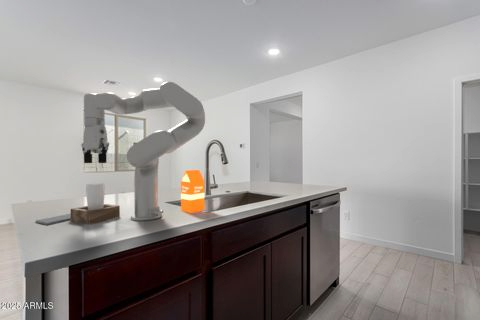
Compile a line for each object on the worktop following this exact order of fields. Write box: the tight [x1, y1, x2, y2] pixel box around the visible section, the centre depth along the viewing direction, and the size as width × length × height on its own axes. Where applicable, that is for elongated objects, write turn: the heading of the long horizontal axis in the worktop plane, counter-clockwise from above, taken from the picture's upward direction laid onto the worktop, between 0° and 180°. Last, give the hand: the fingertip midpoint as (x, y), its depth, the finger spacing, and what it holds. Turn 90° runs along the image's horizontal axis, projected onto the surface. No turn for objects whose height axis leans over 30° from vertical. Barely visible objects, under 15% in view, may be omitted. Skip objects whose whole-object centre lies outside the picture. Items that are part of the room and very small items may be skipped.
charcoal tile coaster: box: [35, 213, 71, 226], centre depth 99 cm, size 9×14×1 cm, turn 154°
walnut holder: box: [70, 203, 121, 225], centre depth 100 cm, size 13×13×5 cm
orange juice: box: [180, 169, 205, 214], centre depth 115 cm, size 8×9×20 cm
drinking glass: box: [85, 182, 106, 210], centre depth 100 cm, size 7×7×15 cm
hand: (95, 163), depth 100 cm, fingers open, 9 cm apart
